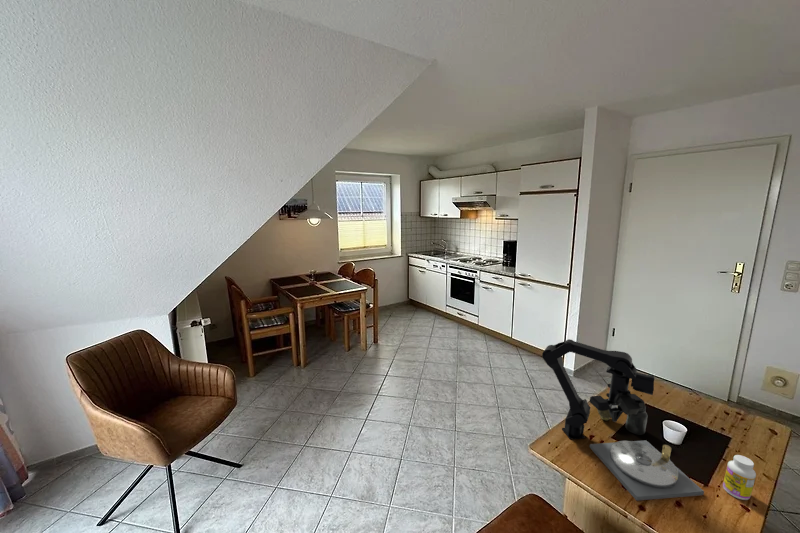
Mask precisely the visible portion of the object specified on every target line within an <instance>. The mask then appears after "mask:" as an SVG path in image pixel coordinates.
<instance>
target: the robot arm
mask: <svg viewBox="0 0 800 533" xmlns="http://www.w3.org/2000/svg"><path fill="white" fill-rule="evenodd" d="M568 353H572V354H573V353H574V354H576V355H579V356H583V357H585V358H589V359H590V360H591V359H592V360H594V361H598V362H600V363H604V364H605V365H607V366H608V367H606V371H605V372H606V373H608V374H610V375H611V376H610V383H608V384H607V387H608V388H609V391H608V393H606V394H605V396H606V397H607V398H604V397H603V396H602V395H592V396H590V397H589V403H590V404H591V405H592V406H593V407H594V408H595V409H598V410H600V411H605V410H609V413H610V415H611V418H610V419H611V421H612V422H614V423H616V422H617V421H618V420H619V418H621V416H622V414H625V415H626V416H627V415H630V414H637V412H638V411H642V409H643V408H644V406H646V402H645V401H644V399H642V398H641V397H640V396H638V395H637V394H635V393H631V391H630V389H629V385H630V387H632V390H633V391H637V392H639V393H643V394H647V395H651V396H653V395H654V389H655V376H654V375H650V374H645V373H640V372H637V371H638V368H636V366H635V365H634V363H633V358H632V356H631V355H630V354H629V353H627V352H624V351H619V350H605V349H601V348H599V347H595V346H591V345H588V344H584V343H581V342H578V341H576V340H573V339H567V340H565V341H562V342H558V343H556V344H549V345H547V346H546V347H545V349H544V350H543V352H542V355H541V357H542V359H543V360H544V362H545V363H546V365H547V366H548V367H549V368H551V369H552V371H553V372H554V375H555V377H556V379H557V381H558V383H559V385H560V387H561V388H562V391H563V393H564V395H565V397H566V399H567V401H568V404H569V410H568V412H567V415H566V417H565V419H564V427H561V430H562V431H563V432H564V434H566V435H565V436H567V437H568V438H569V440H579V439H580V440H581V439H583V440H584V439H585V438H586V436H584V432H585V424H586V423H587V422H588V420H589V417H590V413H591V408H592V407H591V406H590V405H589V403H588V401H587V399H586V398H584V399H582V398H581V397H580V396H579V394H578V392H577V389H576V387H575V386H574V384H573V382H572V380H571V378H570V375H569V374H568V373H567V370H566V368H565V366H564V362H563V357H564V355H566V354H568ZM630 381H631V382H630ZM598 410H597V411H598Z"/></svg>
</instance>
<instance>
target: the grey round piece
mask: <svg viewBox="0 0 800 533" xmlns="http://www.w3.org/2000/svg"><path fill="white" fill-rule="evenodd" d="M613 443H614V442H613ZM655 449H656V448H655ZM655 449H653V448H651V447H649V446H647V445H644V444H641V443H638V442H633V440H619V441H616V443H614V444H613V445H612V447H611V452H610V456H611V459H612V461H613V463H614V464H615V465H616V467H617V468H618V469H619V470H620V471H622V472H623V473H624V474H625V475H627V476H628V477H630V478H632V479H634V480H635V481H638V482H640V483H642V484H645V485H648V486H651V487H656V488H670V487H672V486H674V485H675V484H676V483H677V479H678V470H677V468H678V467H677V466H676V465H675V464H674V462H673V461H672V460H671V458H670V457H671V452H672V447H671V446H670V445H668V444H662V450H661V452H660V451H659V450H658V449H657V450H658V451H657V450H655ZM676 467H677V468H676Z"/></svg>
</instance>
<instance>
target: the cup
mask: <svg viewBox="0 0 800 533" xmlns="http://www.w3.org/2000/svg"><path fill="white" fill-rule="evenodd" d="M596 409H597V408H596ZM597 413H598V415H599V416H600V419H601V420H603V421H604V422H605V421H606V422H609V421H610V419H612V418H611V415H610V413H609V410H605V411H600V410H598V409H597Z"/></svg>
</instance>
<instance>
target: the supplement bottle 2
mask: <svg viewBox="0 0 800 533" xmlns="http://www.w3.org/2000/svg"><path fill="white" fill-rule="evenodd" d="M732 459H733V460H729V461H728V462H727V466H726V470H725V475H724V477H723V482H722V488H723V489H724V490H725V492H726V493H727V494H729V495H731V496H732V497H734V498H735V499H738V500H743V501H748V500H750V498H751V496H752V493H753V488H754V484H755V481H756V477H757V473H756V471H755V470H754V466H755V463H754V462H753V460H752V459H750V458H748V457H746V456H744V455H741V454H735V455H734V456H733V458H732Z"/></svg>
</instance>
